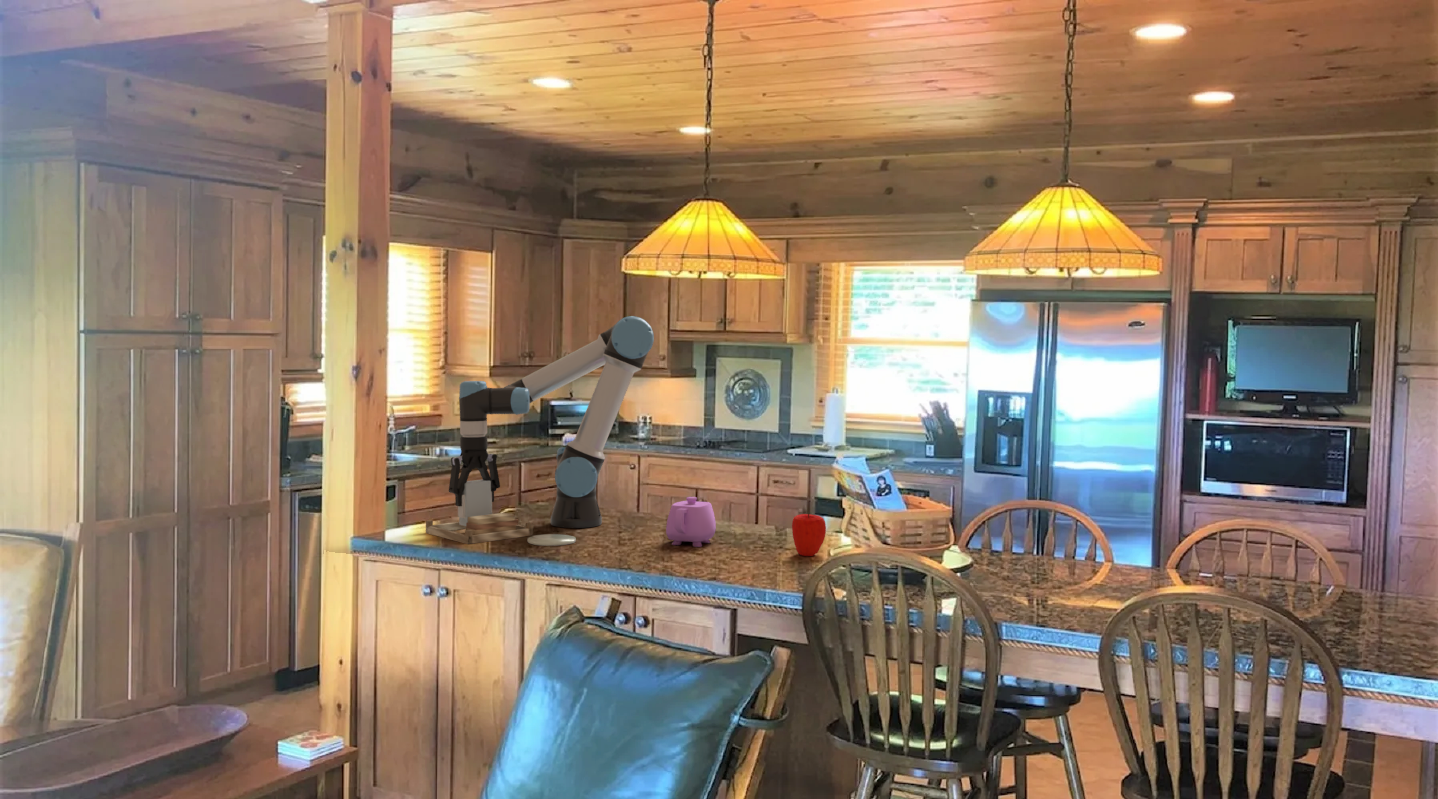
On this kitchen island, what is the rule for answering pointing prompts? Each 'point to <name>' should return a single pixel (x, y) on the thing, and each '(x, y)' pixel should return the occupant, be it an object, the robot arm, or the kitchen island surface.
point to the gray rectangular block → (476, 499)
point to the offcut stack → (491, 523)
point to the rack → (468, 538)
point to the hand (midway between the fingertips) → (475, 515)
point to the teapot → (691, 522)
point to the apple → (808, 533)
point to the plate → (551, 540)
